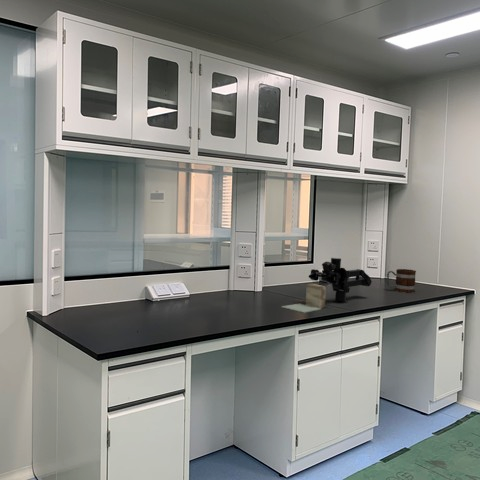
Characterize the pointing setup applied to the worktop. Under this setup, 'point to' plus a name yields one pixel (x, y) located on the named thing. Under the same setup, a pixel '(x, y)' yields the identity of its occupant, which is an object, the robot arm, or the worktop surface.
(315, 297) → the birch block
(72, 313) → the worktop surface
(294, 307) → the mat
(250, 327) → the worktop surface
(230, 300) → the worktop surface
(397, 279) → the mug
